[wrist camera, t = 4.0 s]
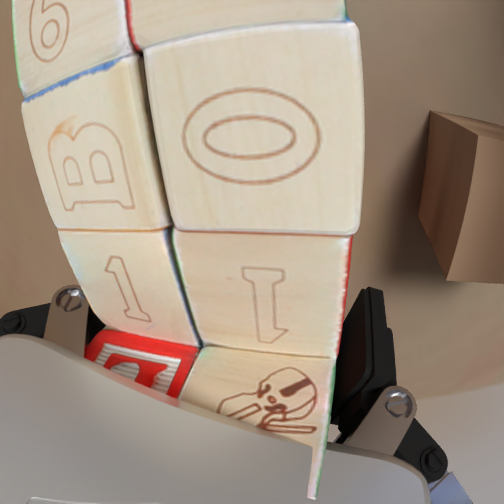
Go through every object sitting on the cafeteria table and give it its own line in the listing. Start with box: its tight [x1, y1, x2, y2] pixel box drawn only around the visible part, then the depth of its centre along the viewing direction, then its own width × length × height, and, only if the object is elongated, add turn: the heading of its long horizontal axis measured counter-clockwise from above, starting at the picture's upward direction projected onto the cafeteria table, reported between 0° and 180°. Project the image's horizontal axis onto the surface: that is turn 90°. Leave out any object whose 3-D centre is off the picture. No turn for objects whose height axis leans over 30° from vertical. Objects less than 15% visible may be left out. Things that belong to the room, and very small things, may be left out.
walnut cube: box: [418, 111, 504, 284], centre depth 9 cm, size 5×5×5 cm
